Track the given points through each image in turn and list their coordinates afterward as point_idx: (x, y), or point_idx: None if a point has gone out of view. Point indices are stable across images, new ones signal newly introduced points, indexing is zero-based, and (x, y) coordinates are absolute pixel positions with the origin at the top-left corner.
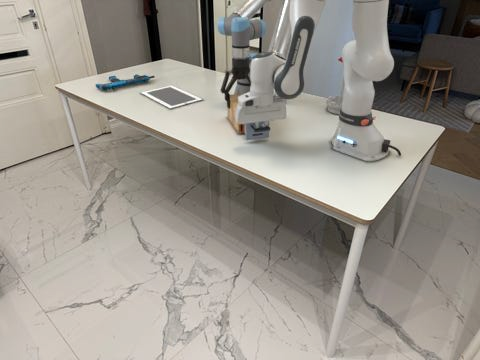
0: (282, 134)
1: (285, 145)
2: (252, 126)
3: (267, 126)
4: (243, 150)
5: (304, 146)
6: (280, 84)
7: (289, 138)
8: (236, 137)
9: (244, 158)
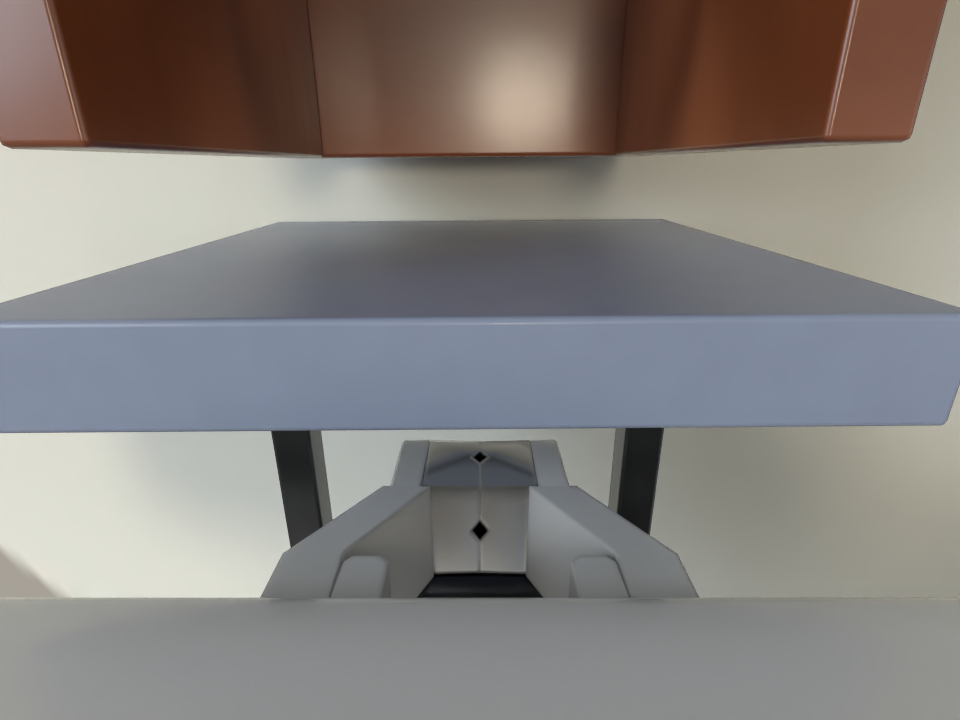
0: (948, 124)
1: (771, 455)
2: (288, 445)
3: (646, 528)
4: (233, 442)
5: (954, 526)
6: None
7: (946, 291)
8: None
9: (224, 591)
